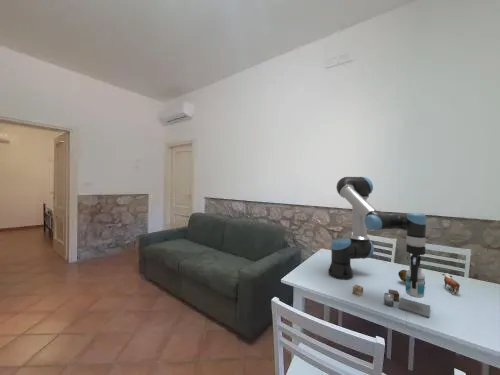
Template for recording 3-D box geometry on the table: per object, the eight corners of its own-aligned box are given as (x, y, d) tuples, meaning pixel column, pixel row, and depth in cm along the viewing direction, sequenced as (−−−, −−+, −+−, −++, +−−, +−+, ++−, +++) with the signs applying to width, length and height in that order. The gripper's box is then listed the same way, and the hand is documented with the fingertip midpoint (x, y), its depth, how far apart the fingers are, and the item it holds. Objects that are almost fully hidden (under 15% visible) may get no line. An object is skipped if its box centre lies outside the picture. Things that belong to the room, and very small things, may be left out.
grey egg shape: (383, 304, 116) (383, 294, 116) (385, 301, 119) (385, 292, 119) (392, 307, 113) (393, 297, 113) (394, 304, 116) (394, 294, 116)
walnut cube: (390, 300, 120) (390, 292, 120) (388, 296, 124) (388, 289, 124) (399, 301, 119) (399, 294, 119) (397, 298, 123) (397, 290, 123)
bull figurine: (449, 286, 137) (449, 272, 137) (461, 296, 125) (461, 281, 124) (440, 285, 139) (440, 271, 139) (451, 295, 126) (451, 280, 126)
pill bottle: (402, 291, 117) (402, 264, 116) (417, 291, 116) (417, 264, 116) (412, 298, 109) (412, 270, 109) (428, 298, 109) (428, 270, 109)
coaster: (397, 308, 112) (397, 307, 112) (401, 299, 121) (401, 297, 121) (428, 318, 105) (429, 316, 105) (430, 307, 114) (430, 305, 114)
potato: (422, 290, 131) (423, 276, 131) (396, 283, 140) (397, 270, 140) (425, 286, 137) (426, 272, 137) (400, 279, 146) (400, 266, 146)
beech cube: (352, 293, 127) (352, 286, 127) (355, 291, 130) (355, 284, 129) (359, 296, 124) (360, 289, 124) (363, 294, 127) (363, 287, 126)
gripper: (424, 251, 102) (422, 302, 102) (426, 242, 118) (425, 286, 118) (403, 247, 107) (402, 296, 107) (408, 239, 122) (407, 282, 123)
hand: (414, 291), depth 113 cm, fingers closed on pill bottle, 7 cm apart
